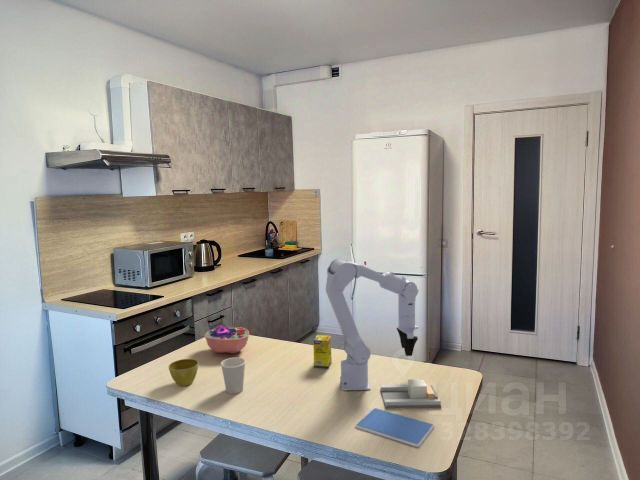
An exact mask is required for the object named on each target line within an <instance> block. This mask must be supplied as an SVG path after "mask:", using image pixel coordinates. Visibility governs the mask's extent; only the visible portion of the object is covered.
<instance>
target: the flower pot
mask: <svg viewBox="0 0 640 480" xmlns="http://www.w3.org/2000/svg"><path fill="white" fill-rule="evenodd" d="M198 368H199V361H198V360H197V359H194V358H181V359H178V360H175V361H172V362H171V363H169V365H168V370H169V373H170V376H171V378H172V380H173V381H174V382H175V384H176V385H177V386H178V387H188V386H191V385H192V384H193V382H194V380H195V378H196V375H197V373H198V370H199V369H198Z"/></svg>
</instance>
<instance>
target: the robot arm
mask: <svg viewBox="0 0 640 480" xmlns="http://www.w3.org/2000/svg"><path fill="white" fill-rule="evenodd" d="M326 274H327V275H326V277H327V278H326V284H325V293H326V296H327V298H328V300H329V302H330V305H331V308H332V310H333V313H334V316H335V317H336V318H335V319H337V322H338V326H339V328H340V330H341V332H342V336H343V337H342V340H343V349H344V352H345V353H346V359H342V360H340V377H339V378H340V379H339V381H340V382H341V383H340V384H341V391H363V390H364V391H368V390H371V387H370V386H371V385H370V382H369V366H368V364H369V362H368V361H369V360H370V358H371V354H372V353H371V349H370V348H369V347H368V346H367V345H366V344H365V341H364V340H363V338H362V336H361V335H360V333H359V331H358V328H357V326H356V324H355V321H354V318H353V315H352V313H351V311H350V307H349V305H348V302H347V301H346V297H345V295H344V290H345V289H346V287H347V286H348V285H349V284H350V283H351V282H352V281H353V280H354V279H358V278H361V277H363V278H366V279H369V280H372V281H374V282H377V283H378V285H379V287H380V288H382V289H384V290H386V291H390V292H392V293H394V294H396V295H398V296H397V297H398V300H397V301H398V306H397V307H398V308H397V310H398V312H397V313H398V320H397V321H398V326H397V327H396V330H397V333H398V336H399V339H400V345H401V348H402V349H404V354H405V356H406V357H412V356H413V353H414V350H415V349H414V347H415V345H416V343H417V341H418V340H419V338H418V336H414V333H415V330H417V329H418V330H419V325H417V324H416V298H417V296H418V294H419V290H420V289H418V286H417V284H416V283H415V282H413V281H410V280H408V279H407V278H406V277H405V276H398V275H396V274H395V272H393V271H389V272H388V271H385V272H384V273H380V272H379V271H377V270H373V269H371V268H369V267H367V266H364V265H362V264H360V263H357V262H353V261H349V260H343V259H341V258H335V259H333V260H332V261H331V262H330V264H329V266H328V267H327V269H326Z"/></svg>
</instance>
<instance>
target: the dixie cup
mask: <svg viewBox="0 0 640 480" xmlns="http://www.w3.org/2000/svg"><path fill="white" fill-rule="evenodd" d="M246 363H247V362H246V359H244V358H242V357H229V358H226V359H224V360H221V362H220V366H221V371H222V376H223V381H224V387H225V392H226V393H227V394H229V395H236V394H240V393H242V392H243V390H244V384H245V383H244V382H245V381H244V380H245V369H246V368H245V367H246Z"/></svg>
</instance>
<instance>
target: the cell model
mask: <svg viewBox="0 0 640 480" xmlns="http://www.w3.org/2000/svg"><path fill="white" fill-rule="evenodd" d="M203 336H204V338H205V340H206V344H207V346H208V347H209V348H210V350H211V351H213V352H214V353H218V354H219V353H221V354H224V353H229V354H236V353H239V352H240V351H242V350H243V349H244V348H245V347H246V345H248V344H247V343H248V340H249V336H250V331H249V329H247V328H245V327H241V326H240V327H237V326H226V325H225V324H219V325H217V326H216V327H215V328H213V329H210V330H208V331H206V332H205V334H204V335H203Z"/></svg>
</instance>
